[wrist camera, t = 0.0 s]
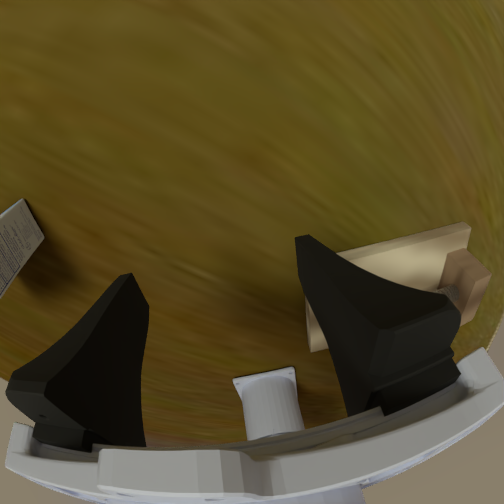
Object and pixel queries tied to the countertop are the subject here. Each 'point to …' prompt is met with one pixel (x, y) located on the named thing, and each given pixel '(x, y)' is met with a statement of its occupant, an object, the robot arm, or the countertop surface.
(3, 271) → the medicine box
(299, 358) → the countertop surface
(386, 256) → the beige blocky piece
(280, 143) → the countertop surface
